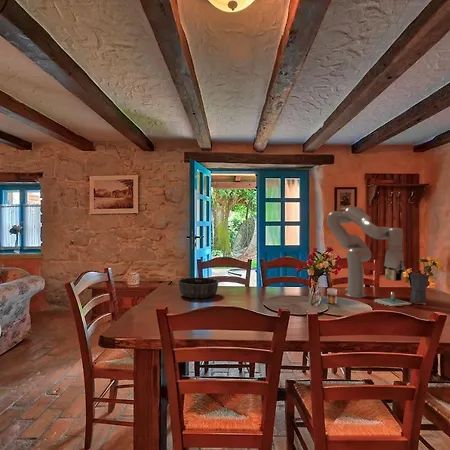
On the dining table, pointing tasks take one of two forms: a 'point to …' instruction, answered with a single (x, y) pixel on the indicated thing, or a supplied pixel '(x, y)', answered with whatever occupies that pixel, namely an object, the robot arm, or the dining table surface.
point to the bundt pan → (198, 287)
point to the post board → (391, 302)
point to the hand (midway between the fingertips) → (393, 278)
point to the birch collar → (392, 274)
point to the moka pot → (418, 287)
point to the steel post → (392, 296)
